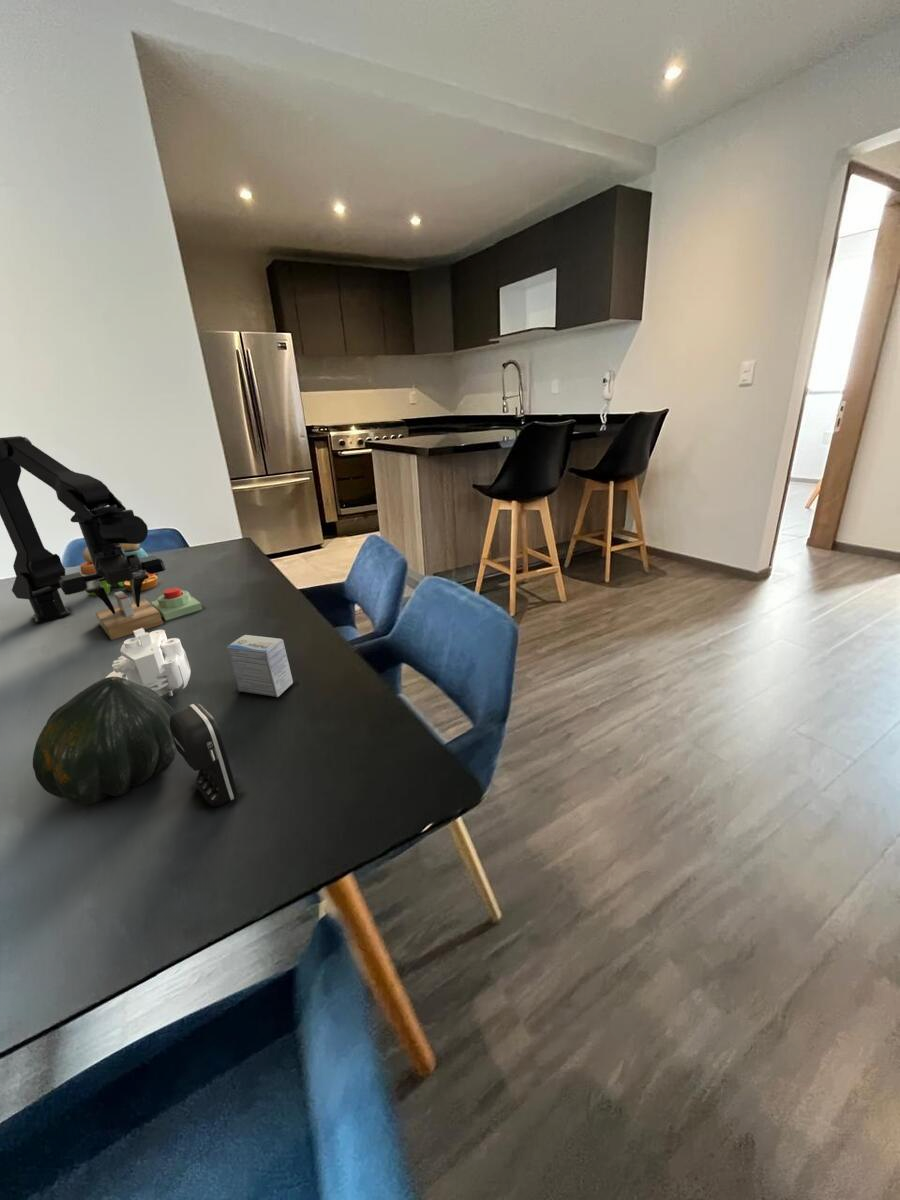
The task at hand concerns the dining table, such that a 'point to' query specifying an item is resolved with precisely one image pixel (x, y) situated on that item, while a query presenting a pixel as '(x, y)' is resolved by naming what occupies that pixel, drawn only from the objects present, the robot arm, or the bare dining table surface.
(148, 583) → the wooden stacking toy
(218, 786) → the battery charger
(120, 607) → the grey block
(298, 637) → the dining table surface
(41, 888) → the dining table surface
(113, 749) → the squash
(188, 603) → the box
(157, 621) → the block
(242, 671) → the medicine box
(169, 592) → the button
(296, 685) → the dining table surface
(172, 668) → the mechanical part
